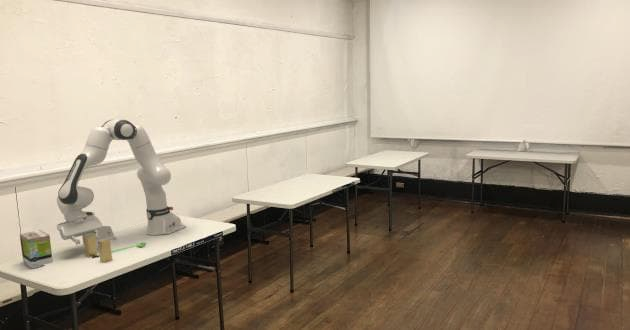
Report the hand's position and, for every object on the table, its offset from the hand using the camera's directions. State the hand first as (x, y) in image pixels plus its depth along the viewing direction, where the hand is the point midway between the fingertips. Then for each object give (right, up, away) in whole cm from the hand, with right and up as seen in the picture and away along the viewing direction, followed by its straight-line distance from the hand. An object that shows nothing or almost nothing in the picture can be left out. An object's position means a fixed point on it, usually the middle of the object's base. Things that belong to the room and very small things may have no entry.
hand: (87, 241), depth 255 cm
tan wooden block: (+13, -8, -8) cm, 17 cm away
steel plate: (+8, -9, -5) cm, 13 cm away
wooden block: (+2, -7, 0) cm, 7 cm away
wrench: (+15, -7, +8) cm, 18 cm away
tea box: (-23, -10, -4) cm, 25 cm away
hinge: (-5, -5, +25) cm, 25 cm away
